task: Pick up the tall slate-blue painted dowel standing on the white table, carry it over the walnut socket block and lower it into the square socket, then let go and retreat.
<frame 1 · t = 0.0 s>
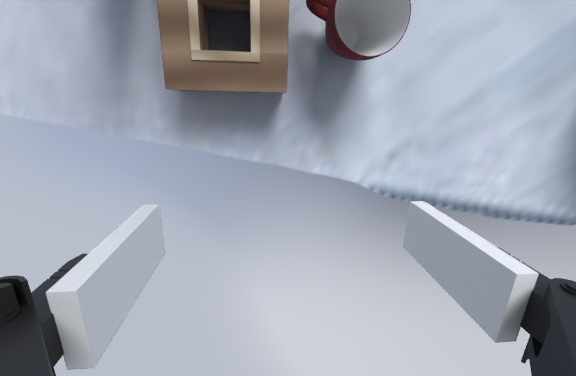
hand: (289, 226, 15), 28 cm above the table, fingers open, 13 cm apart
socket block: (230, 35, 36), on the table
mug: (335, 31, 38), on the table
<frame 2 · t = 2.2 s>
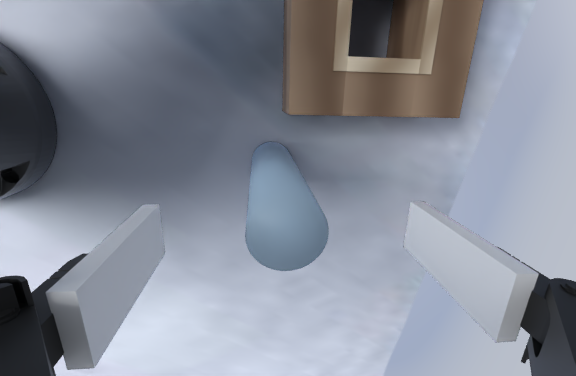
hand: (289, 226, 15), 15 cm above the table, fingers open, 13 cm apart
peg: (271, 161, 29), on the table
socket block: (359, 33, 26), on the table
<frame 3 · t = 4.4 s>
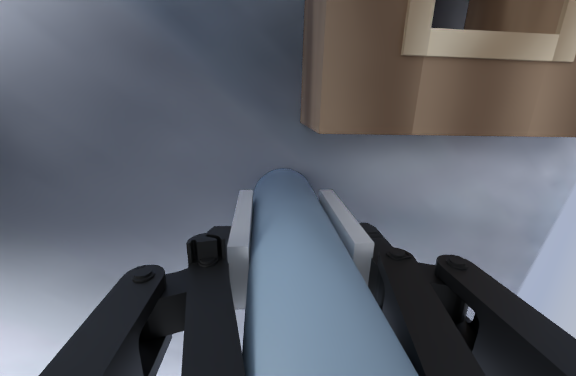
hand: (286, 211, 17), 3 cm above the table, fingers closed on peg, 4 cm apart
peg: (282, 196, 19), on the table, touching gripper
socket block: (423, 1, 16), on the table
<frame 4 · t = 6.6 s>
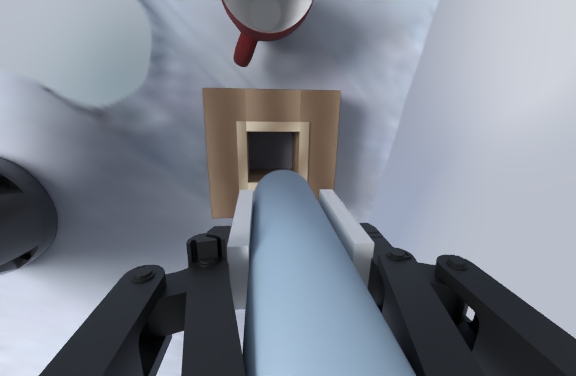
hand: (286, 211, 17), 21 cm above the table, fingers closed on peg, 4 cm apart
peg: (282, 198, 19), point 18 cm above the table, touching gripper
socket block: (271, 148, 36), on the table
mug: (261, 25, 32), on the table
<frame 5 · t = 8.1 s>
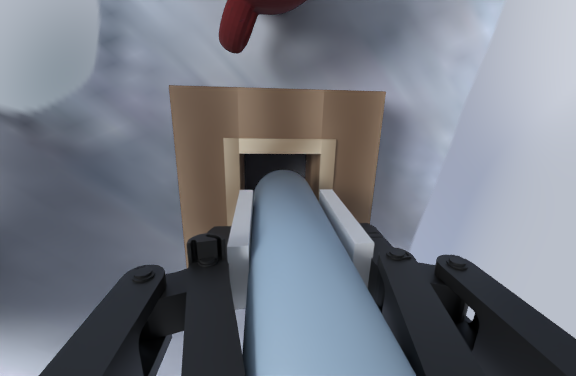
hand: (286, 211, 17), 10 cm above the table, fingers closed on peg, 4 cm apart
peg: (282, 198, 19), point 7 cm above the table, touching gripper
socket block: (275, 171, 26), on the table
when the fingers open (7 cm above the table, at t = 9.2 s): peg drops 5 cm, resting in socket block.
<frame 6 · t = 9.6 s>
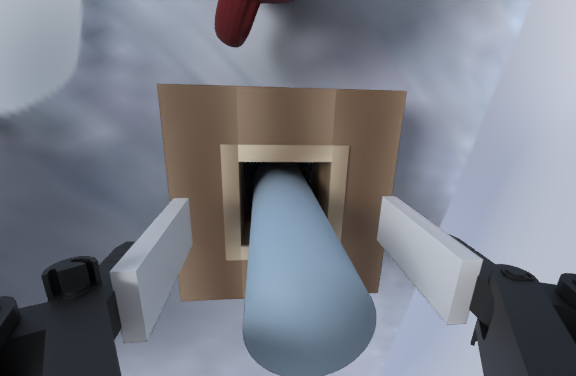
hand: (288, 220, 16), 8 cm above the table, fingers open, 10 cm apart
peg: (278, 179, 23), resting in socket block
socket block: (278, 178, 23), on the table
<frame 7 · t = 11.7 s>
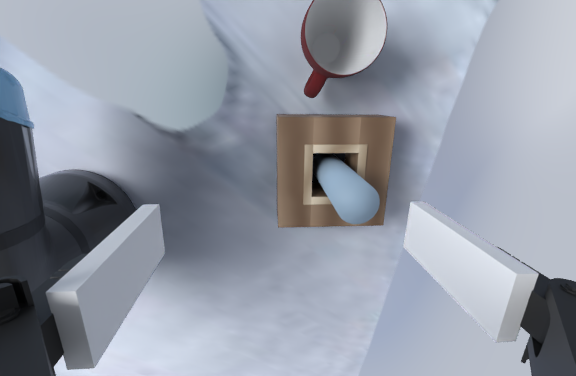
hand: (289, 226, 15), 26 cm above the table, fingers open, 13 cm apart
peg: (324, 164, 41), resting in socket block
socket block: (325, 164, 41), on the table
mug: (322, 58, 36), on the table
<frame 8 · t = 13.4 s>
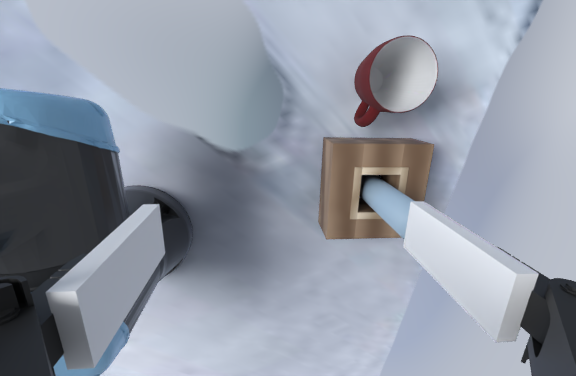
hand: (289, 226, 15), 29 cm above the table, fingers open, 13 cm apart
peg: (363, 182, 45), resting in socket block
socket block: (363, 181, 45), on the table
mug: (366, 89, 41), on the table
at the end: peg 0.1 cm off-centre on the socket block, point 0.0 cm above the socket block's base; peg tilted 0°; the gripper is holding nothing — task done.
